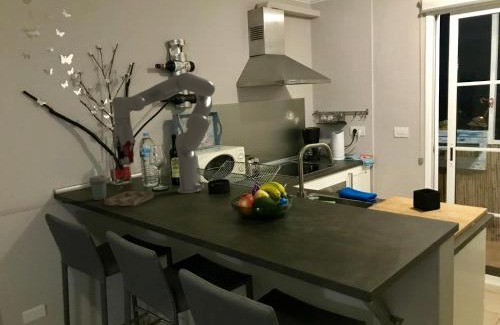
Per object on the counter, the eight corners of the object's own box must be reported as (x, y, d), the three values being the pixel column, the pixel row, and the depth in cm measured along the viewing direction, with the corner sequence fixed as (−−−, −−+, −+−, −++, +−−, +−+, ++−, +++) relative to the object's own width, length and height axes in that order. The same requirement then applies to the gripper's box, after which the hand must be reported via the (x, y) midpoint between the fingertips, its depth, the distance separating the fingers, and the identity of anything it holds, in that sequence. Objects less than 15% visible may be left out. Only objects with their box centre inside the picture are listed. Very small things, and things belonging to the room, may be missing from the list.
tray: (154, 197, 214) (153, 192, 213) (134, 206, 198) (133, 200, 197) (126, 196, 219) (125, 191, 219) (104, 204, 203) (104, 199, 203)
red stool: (129, 165, 205) (127, 140, 203) (117, 165, 207) (114, 141, 205) (136, 162, 211) (133, 139, 210) (124, 163, 213) (121, 139, 211)
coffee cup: (105, 200, 212) (102, 177, 210) (88, 201, 212) (86, 178, 211) (111, 197, 221) (108, 174, 219) (95, 197, 221) (92, 175, 219)
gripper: (127, 121, 215) (131, 155, 218) (104, 123, 199) (108, 160, 202) (139, 120, 212) (143, 155, 215) (117, 123, 196) (121, 160, 199)
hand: (126, 157), depth 208 cm, fingers closed on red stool, 6 cm apart
